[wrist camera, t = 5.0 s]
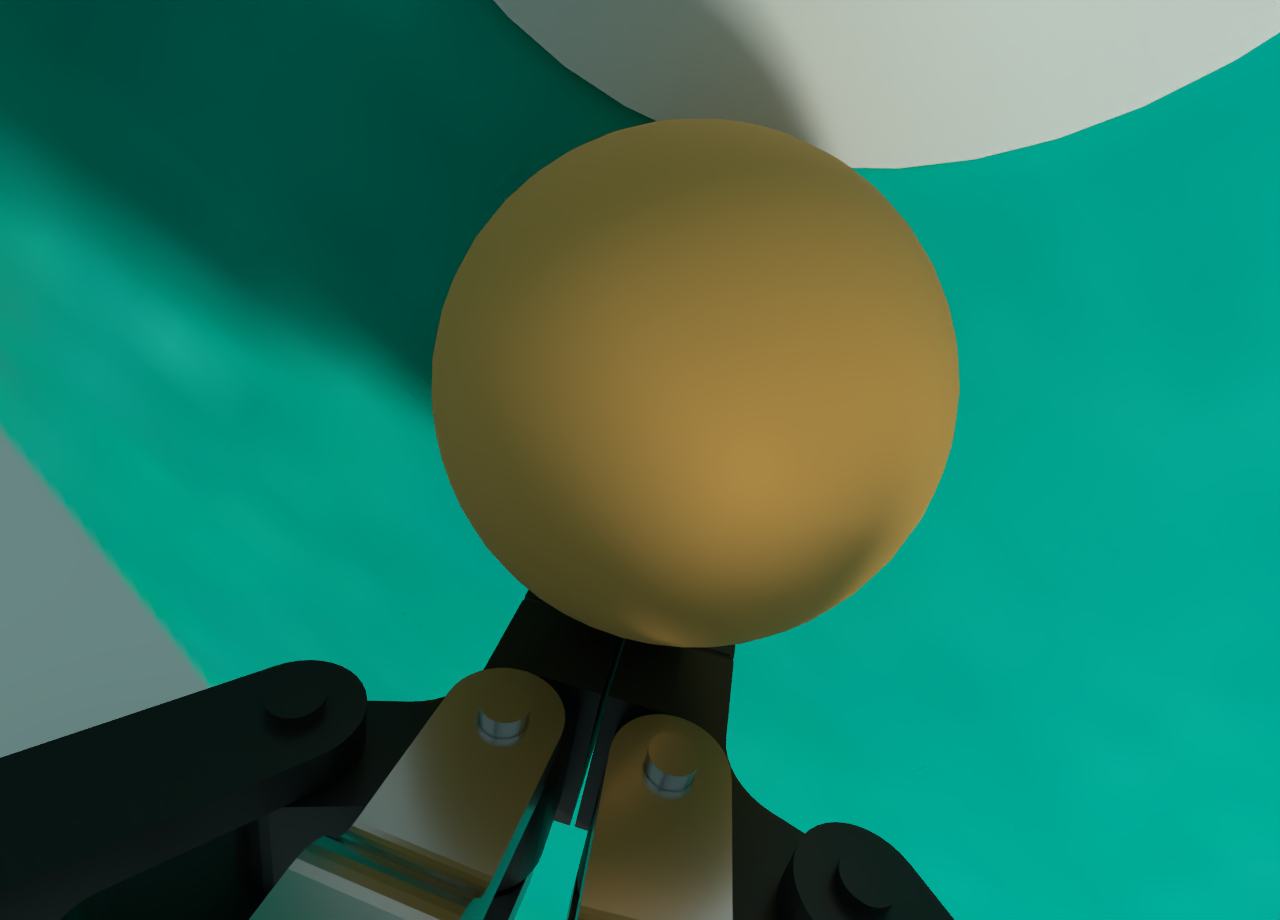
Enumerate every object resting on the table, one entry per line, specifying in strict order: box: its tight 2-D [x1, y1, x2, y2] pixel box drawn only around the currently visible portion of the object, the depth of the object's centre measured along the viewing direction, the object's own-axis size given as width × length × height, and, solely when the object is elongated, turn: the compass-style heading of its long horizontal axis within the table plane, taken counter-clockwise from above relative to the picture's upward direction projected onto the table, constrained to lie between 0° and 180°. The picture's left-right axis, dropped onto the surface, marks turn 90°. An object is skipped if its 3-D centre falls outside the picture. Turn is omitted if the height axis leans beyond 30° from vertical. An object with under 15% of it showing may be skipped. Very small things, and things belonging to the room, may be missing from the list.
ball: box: [432, 119, 959, 647], centre depth 8 cm, size 6×6×6 cm
